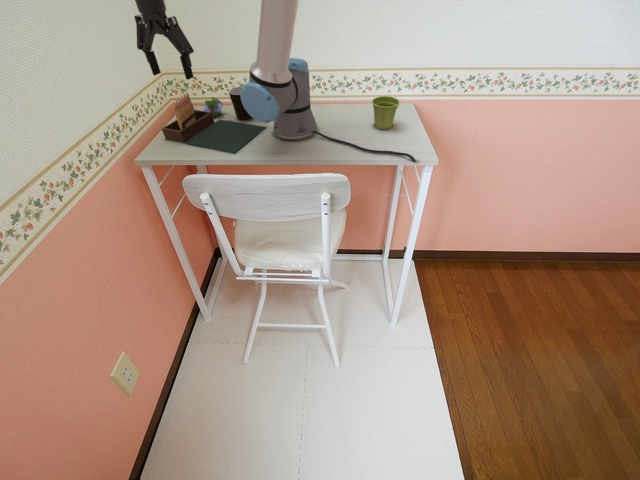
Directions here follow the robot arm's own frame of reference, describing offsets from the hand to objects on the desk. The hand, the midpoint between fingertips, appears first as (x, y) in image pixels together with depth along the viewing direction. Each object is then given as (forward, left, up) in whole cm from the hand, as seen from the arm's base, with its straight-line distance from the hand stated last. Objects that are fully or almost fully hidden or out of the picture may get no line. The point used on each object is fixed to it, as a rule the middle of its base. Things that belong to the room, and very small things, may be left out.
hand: (173, 76), depth 107 cm
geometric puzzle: (-1, -14, -19) cm, 23 cm away
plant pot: (-65, -26, -19) cm, 72 cm away
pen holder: (0, 0, -19) cm, 19 cm away
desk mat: (-15, -1, -19) cm, 24 cm away
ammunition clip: (0, 0, -19) cm, 19 cm away
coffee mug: (-13, -18, -19) cm, 29 cm away
